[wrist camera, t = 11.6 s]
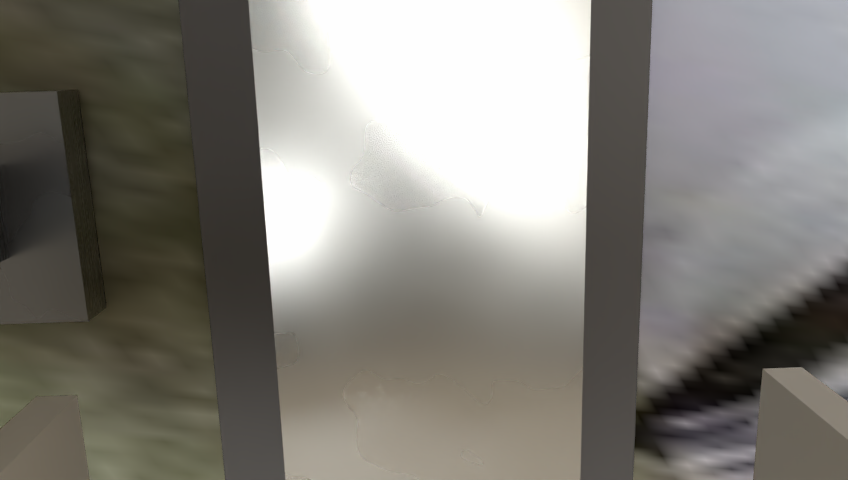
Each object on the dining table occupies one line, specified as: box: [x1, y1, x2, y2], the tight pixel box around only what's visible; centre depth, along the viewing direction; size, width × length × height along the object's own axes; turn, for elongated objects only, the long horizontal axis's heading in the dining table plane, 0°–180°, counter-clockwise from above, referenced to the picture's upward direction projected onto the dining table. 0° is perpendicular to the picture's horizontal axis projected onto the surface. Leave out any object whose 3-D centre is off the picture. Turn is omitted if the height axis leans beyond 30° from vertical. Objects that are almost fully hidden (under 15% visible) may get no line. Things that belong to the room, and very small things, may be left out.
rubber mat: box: [178, 0, 652, 480], centre depth 18 cm, size 26×10×1 cm, turn 2°
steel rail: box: [248, 0, 591, 480], centre depth 15 cm, size 24×5×5 cm, turn 2°
